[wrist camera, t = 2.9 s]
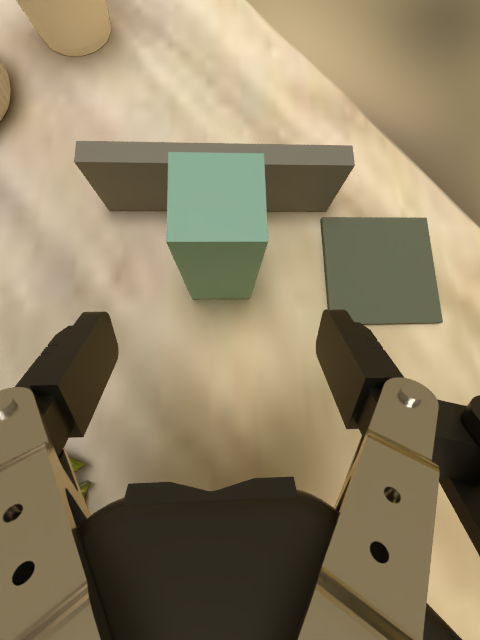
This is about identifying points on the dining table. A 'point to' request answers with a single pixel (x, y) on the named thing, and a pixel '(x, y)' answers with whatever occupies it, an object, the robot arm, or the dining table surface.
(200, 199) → the block
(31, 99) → the dining table surface
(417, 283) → the mat
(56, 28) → the foam cup
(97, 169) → the screen
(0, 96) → the ramekin
